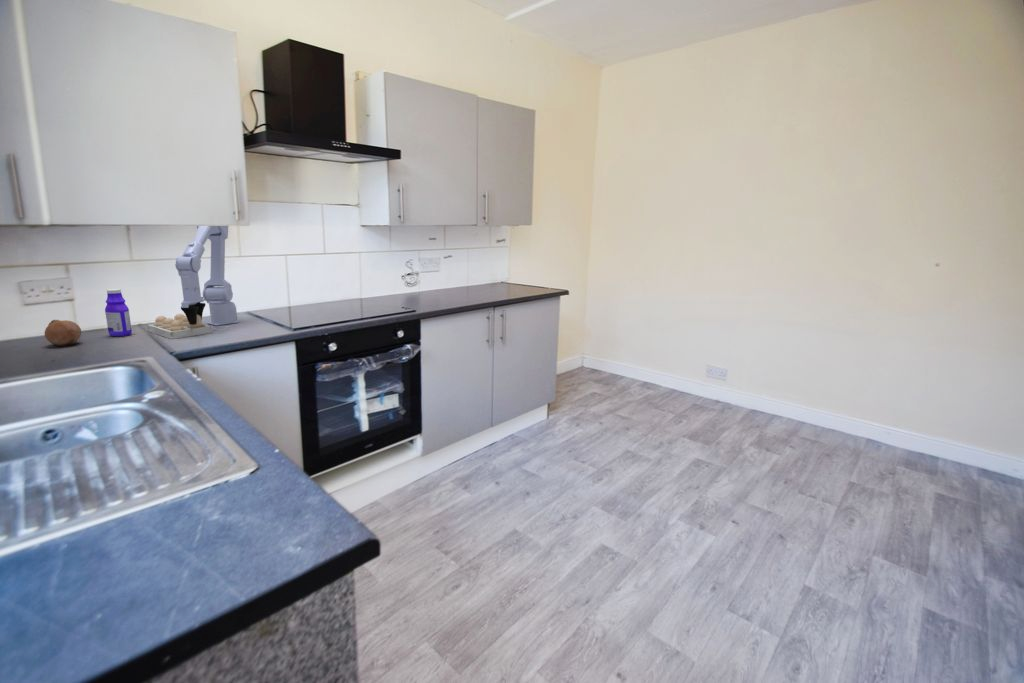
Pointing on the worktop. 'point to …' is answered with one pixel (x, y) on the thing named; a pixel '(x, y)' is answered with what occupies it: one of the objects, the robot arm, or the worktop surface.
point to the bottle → (117, 314)
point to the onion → (62, 332)
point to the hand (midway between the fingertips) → (195, 323)
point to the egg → (198, 324)
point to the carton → (176, 327)
